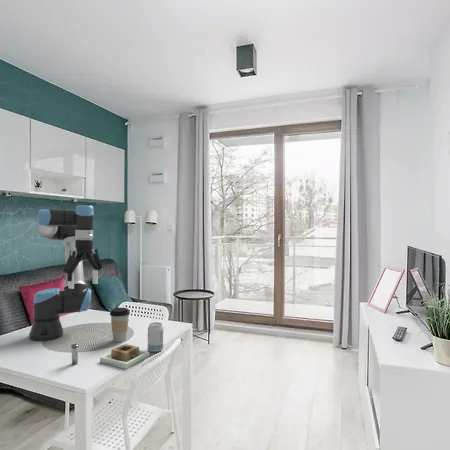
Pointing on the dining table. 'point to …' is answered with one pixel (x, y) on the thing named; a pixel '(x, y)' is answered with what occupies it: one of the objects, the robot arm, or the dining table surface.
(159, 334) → the beverage can
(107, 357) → the tray
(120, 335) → the coffee cup
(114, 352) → the brown rectangular frame
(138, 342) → the dining table surface
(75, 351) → the grey round-topped rod
